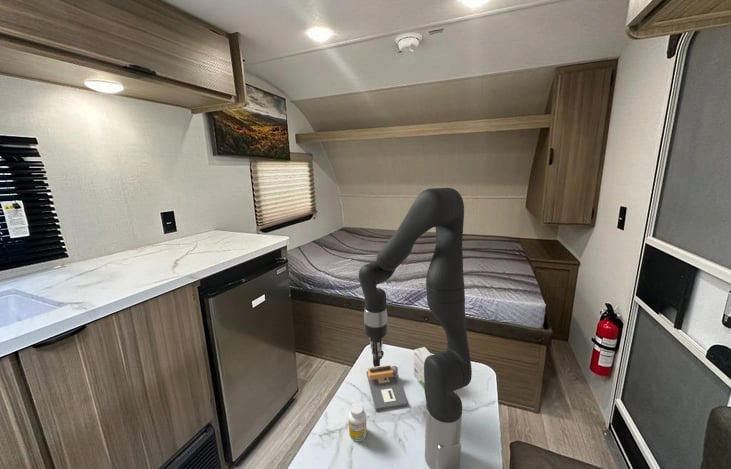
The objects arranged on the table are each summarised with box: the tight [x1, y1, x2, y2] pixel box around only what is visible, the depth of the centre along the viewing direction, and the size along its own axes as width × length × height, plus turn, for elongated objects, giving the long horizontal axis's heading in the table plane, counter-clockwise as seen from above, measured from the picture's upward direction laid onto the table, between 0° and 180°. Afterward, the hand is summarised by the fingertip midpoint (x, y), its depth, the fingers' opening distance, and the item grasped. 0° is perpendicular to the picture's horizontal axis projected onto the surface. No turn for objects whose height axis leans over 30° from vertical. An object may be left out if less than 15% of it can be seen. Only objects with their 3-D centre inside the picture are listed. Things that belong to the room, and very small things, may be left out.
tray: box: [366, 370, 408, 412], centre depth 106 cm, size 18×11×3 cm, turn 10°
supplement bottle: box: [347, 402, 368, 442], centre depth 87 cm, size 5×5×10 cm
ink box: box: [413, 346, 433, 389], centre depth 108 cm, size 8×5×12 cm, turn 21°
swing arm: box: [367, 364, 399, 380], centre depth 109 cm, size 4×11×3 cm, turn 99°
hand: (376, 365), depth 98 cm, fingers closed
